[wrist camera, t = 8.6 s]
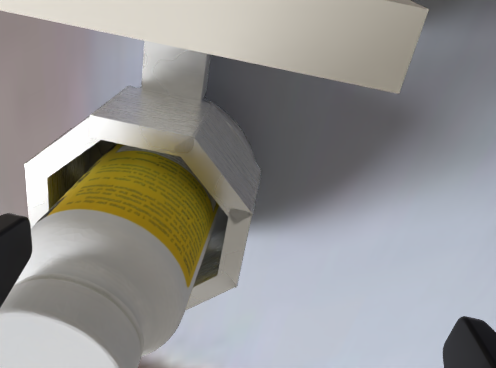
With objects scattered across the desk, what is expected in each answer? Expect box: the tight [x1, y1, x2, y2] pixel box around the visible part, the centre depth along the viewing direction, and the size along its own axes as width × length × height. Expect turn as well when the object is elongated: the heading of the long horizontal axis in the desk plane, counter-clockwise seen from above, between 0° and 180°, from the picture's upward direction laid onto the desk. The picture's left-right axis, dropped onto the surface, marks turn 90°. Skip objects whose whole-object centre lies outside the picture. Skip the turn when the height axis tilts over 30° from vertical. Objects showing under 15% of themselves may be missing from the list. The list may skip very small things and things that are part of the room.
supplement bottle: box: [0, 143, 221, 368], centre depth 15 cm, size 5×5×10 cm
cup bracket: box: [24, 41, 262, 310], centre depth 18 cm, size 8×11×4 cm
